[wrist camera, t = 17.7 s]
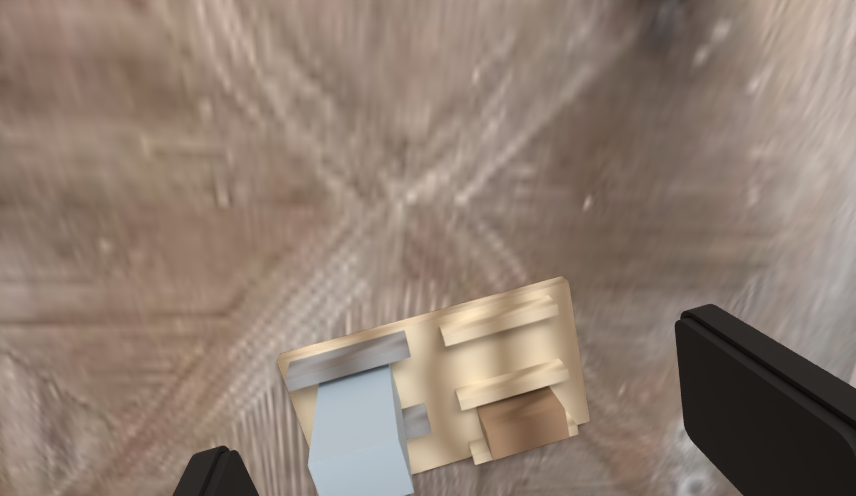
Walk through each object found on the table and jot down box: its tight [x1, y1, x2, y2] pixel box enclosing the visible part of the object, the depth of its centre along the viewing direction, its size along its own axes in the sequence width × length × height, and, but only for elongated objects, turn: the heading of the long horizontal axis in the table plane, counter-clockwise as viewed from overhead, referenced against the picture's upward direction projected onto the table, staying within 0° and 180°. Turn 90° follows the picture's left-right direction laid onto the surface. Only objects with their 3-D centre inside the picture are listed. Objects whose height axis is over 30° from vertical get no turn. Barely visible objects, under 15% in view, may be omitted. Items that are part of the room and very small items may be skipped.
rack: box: [277, 276, 590, 474], centre depth 43 cm, size 26×15×4 cm, turn 103°
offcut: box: [476, 386, 570, 460], centre depth 43 cm, size 7×3×4 cm, turn 103°
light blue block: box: [308, 363, 414, 496], centre depth 37 cm, size 6×4×11 cm
